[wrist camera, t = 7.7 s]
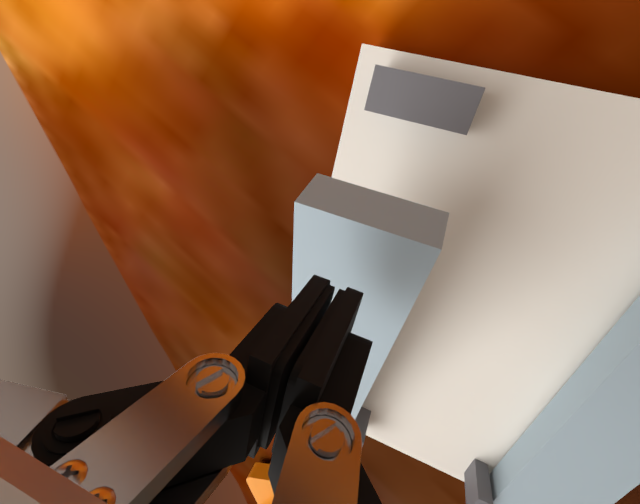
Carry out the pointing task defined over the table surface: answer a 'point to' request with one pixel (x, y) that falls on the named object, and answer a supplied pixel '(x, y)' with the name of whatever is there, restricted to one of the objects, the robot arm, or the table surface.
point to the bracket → (260, 483)
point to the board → (494, 246)
